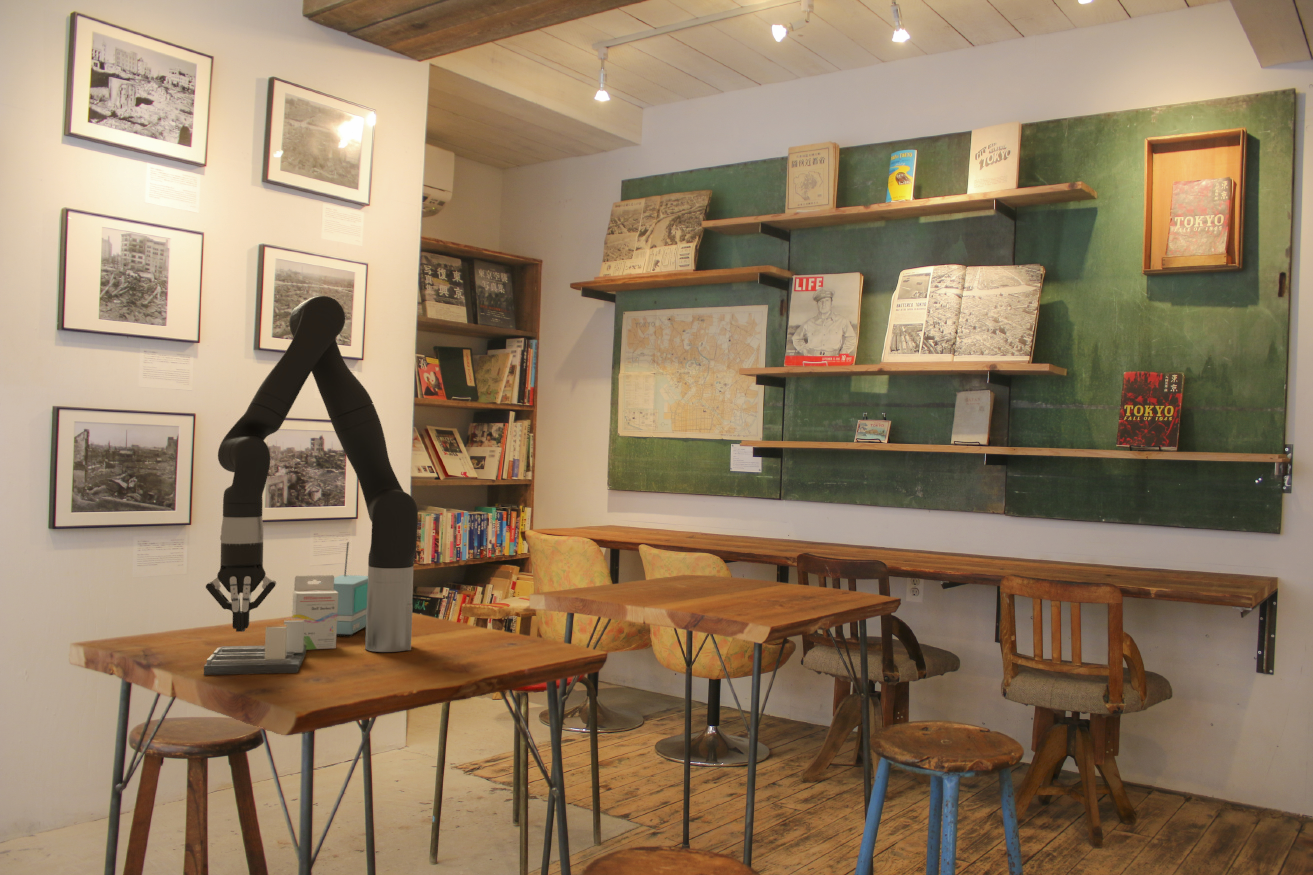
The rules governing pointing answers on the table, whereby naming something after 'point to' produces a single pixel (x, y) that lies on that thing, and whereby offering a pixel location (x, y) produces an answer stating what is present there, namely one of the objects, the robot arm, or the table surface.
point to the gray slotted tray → (250, 661)
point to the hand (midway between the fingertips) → (240, 630)
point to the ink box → (316, 610)
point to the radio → (351, 602)
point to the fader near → (276, 642)
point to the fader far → (295, 635)
